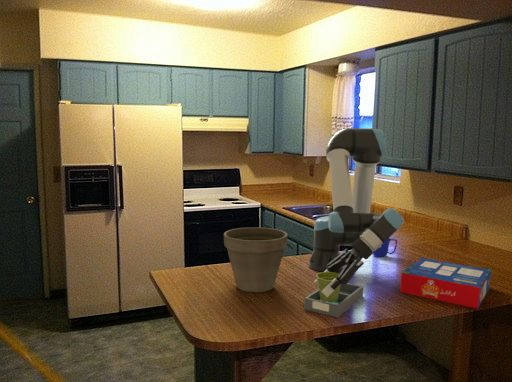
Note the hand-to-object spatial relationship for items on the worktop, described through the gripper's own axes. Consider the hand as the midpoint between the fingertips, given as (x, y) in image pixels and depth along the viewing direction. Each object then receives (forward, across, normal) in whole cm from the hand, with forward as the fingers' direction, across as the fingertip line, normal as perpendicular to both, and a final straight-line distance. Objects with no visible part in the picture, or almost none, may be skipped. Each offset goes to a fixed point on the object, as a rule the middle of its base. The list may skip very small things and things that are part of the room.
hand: (320, 289), depth 162 cm
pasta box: (-44, +26, -49) cm, 71 cm away
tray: (0, +4, -10) cm, 11 cm away
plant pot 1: (+19, +24, +9) cm, 32 cm away
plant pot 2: (+1, 0, -5) cm, 5 cm away
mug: (-31, +66, -42) cm, 84 cm away
